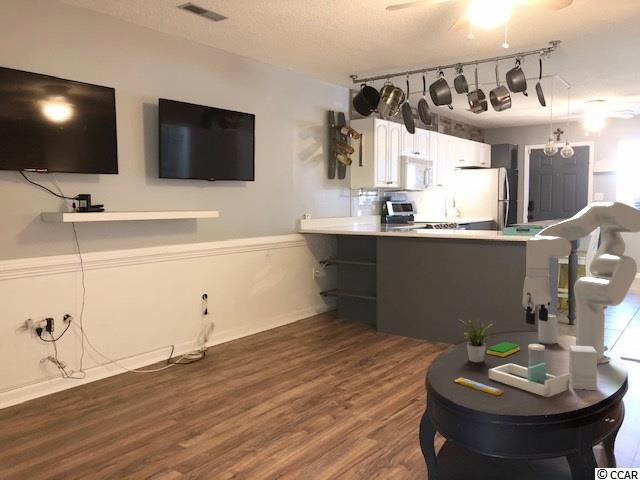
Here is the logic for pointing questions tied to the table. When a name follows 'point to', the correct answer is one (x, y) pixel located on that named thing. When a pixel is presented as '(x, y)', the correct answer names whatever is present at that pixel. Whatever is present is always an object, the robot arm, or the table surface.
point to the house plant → (476, 342)
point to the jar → (536, 354)
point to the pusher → (537, 373)
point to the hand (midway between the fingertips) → (536, 321)
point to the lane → (551, 383)
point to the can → (548, 330)
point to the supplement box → (583, 367)
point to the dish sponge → (503, 349)
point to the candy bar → (478, 386)
